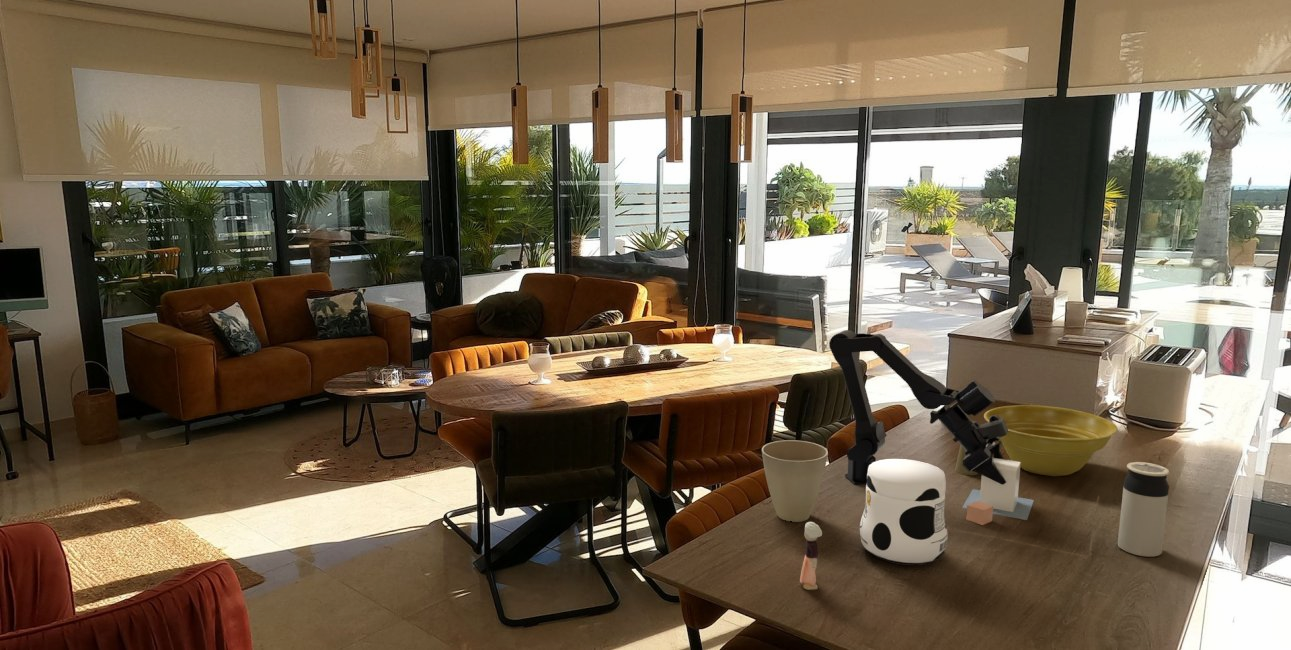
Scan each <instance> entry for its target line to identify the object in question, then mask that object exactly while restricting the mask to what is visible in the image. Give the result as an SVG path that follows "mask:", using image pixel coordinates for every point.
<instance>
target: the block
mask: <svg viewBox="0 0 1291 650" xmlns="http://www.w3.org/2000/svg"><path fill="white" fill-rule="evenodd" d="M993 516H994V514H993V506H991V505H988V504H985V503H982V502H979V501H976V502H973V503H971V504H968V505H967V509H966V517H965V519H966V521H969V522H972V523H975V524H978V525H981V526H984V525H986V524H988V523H991V522H993Z"/></svg>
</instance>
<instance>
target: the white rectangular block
mask: <svg viewBox="0 0 1291 650" xmlns="http://www.w3.org/2000/svg"><path fill="white" fill-rule="evenodd" d="M993 462H994V464H995V465H996V467H997V468H998V470H999V471H1000V473H1001V474H1002V476H1003V477H1004V479H1005V481H1006V483H1005V484H1003V485H1002V484H1000V483H998V482H996V481H994V480H992V479H990V478H987V477H985V476H983V475H981V477H980V478H981V479H980V490H981V491H980V502H982V503H985V504H988V505H991V506H993V508H994V509H999V510H1004V511H1010V512H1013V511H1014V509H1015V506H1016V504H1017V501H1018V497H1019V487H1020V486H1019V485H1020V477H1021V476H1020V474H1021V468H1020V465H1021V462H1017V461H1012V460H1011V459H1005V458H1004V459H998V458H994V460H993Z"/></svg>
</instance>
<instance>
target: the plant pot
mask: <svg viewBox="0 0 1291 650" xmlns="http://www.w3.org/2000/svg"><path fill="white" fill-rule="evenodd" d="M761 454H762V455H761V456H762V461H763V463H762V464H763V468H764V474H765V478H766V482H767V487H768V491H769V494H770V497H771V500H772V504H773V507H774V509H775V513H776V515H777V517H778V518H779V519H781V520H783V521H785V520H786V522H790V521H792V522H794V523H801V522H805V521H807V520H808V519H809V518H810V517H811V515H812V512H813V509H814V508H815V505H816V502H817V500H818V496H819V493H820V490H821V487H822V483H823V480H824V476H825V475H824V474H825V471H826V465H827V461H828V454H829V452H828V449H827V448H826V447H825V446H823V445H820V444H817V443H815V442H810V441H805V440H796V439H795V440H792V439H791V440H789V439H788V440H786V439H785V440H776V441H773V442H769V443H766V444H765V445H763V446H762V448H761Z"/></svg>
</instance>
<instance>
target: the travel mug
mask: <svg viewBox="0 0 1291 650" xmlns="http://www.w3.org/2000/svg"><path fill="white" fill-rule="evenodd" d="M1126 468H1127V471H1128V474H1127V475H1126V476H1125V478H1124V479H1123V487H1122V497H1121V498H1122V500H1121V507H1120V516H1119V518H1120V519H1119V526H1118V527H1119V528H1118V537H1117V538H1118V539H1117V545H1118V548H1120V549H1122V550H1123V551H1125V552H1126V553H1128V554H1130V555H1134V556H1139V557H1143V558H1147V557H1148V558H1153V557H1157V556H1160V555H1162V552H1163V545H1164V535H1165V526H1166V518H1167V517H1166V516H1167V509H1168V500H1169V490H1170V486H1169V483H1168V481H1167V477H1168V475H1169V474H1170V471H1169V469H1168V468H1166V467H1164V466H1161V465H1159V464H1156V463H1150V462H1144V461H1143V462H1142V461H1135V462H1134V461H1132V462H1129V463H1127V465H1126Z"/></svg>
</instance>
